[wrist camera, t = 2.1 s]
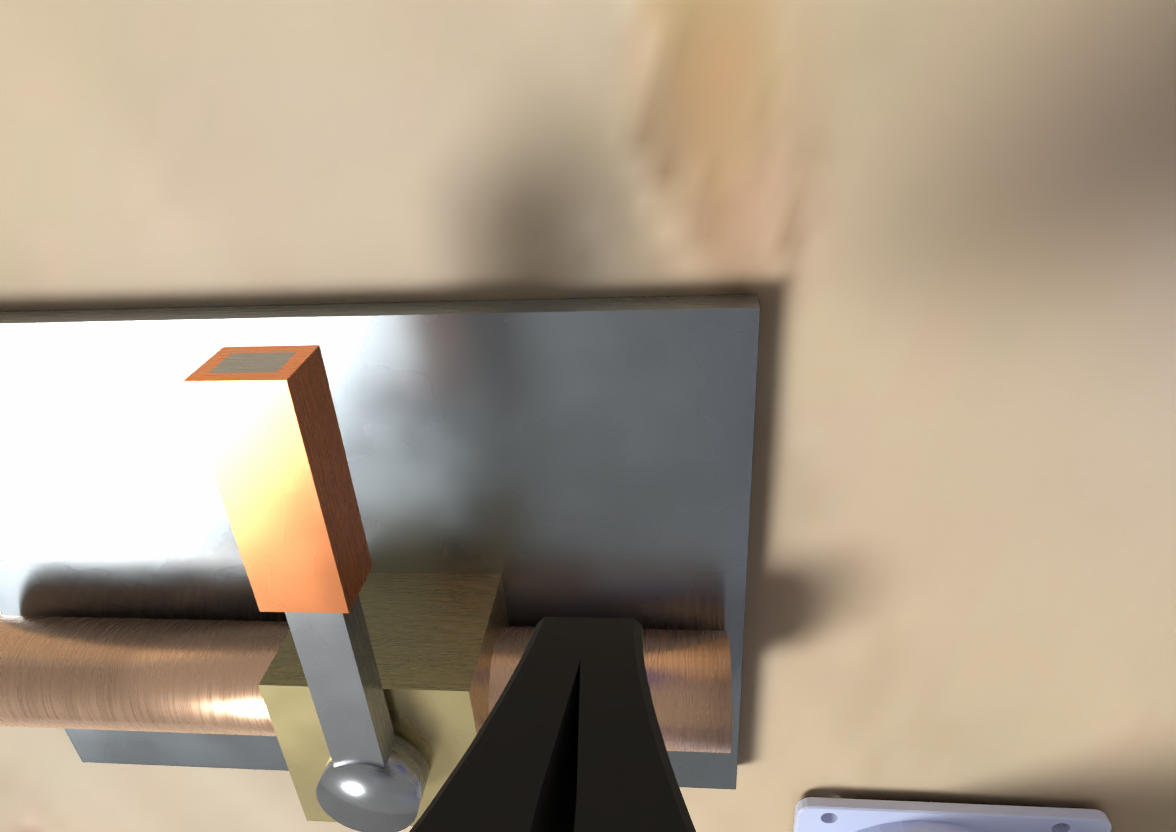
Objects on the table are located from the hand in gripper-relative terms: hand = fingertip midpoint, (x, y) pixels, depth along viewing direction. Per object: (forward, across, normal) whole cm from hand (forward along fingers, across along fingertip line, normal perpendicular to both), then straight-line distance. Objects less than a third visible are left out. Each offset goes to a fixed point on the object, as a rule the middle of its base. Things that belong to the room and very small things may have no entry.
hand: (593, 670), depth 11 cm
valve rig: (+9, +8, +6) cm, 14 cm away
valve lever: (+5, +6, +3) cm, 8 cm away
